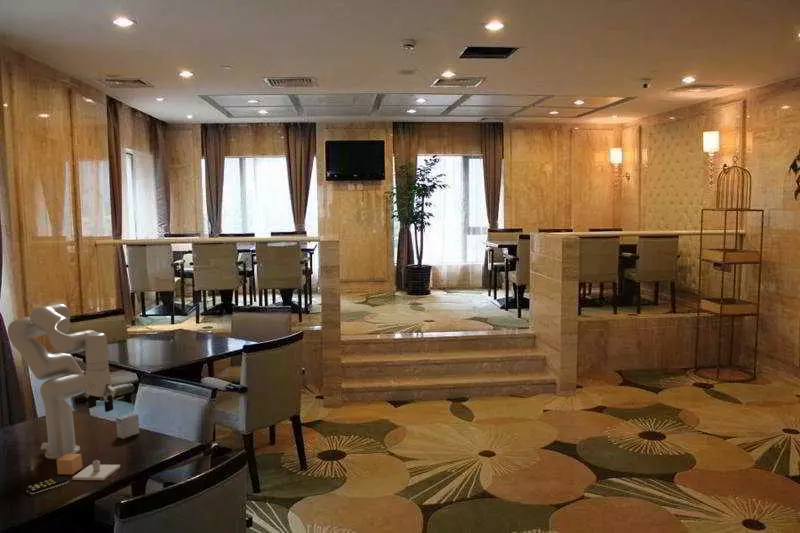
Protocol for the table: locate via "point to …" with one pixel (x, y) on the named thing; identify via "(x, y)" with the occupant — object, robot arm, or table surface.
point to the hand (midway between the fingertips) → (100, 409)
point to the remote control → (47, 484)
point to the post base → (98, 474)
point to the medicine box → (127, 425)
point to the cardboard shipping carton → (69, 463)
